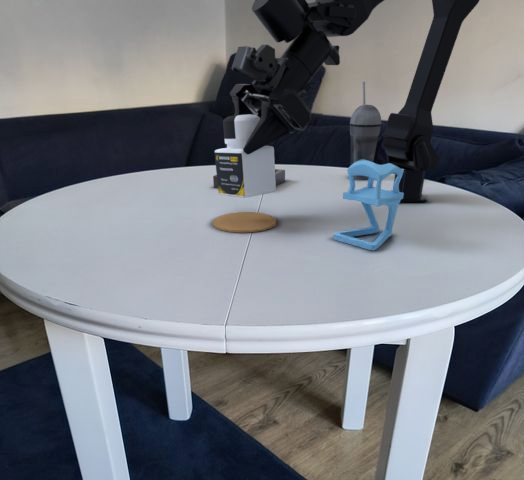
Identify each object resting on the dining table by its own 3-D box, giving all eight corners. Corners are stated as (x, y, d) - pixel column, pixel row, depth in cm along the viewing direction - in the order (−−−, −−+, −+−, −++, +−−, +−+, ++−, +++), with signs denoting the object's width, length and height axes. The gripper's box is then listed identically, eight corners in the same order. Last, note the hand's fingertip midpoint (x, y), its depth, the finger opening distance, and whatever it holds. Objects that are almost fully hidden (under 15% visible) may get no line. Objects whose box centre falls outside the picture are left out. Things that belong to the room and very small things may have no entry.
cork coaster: (276, 232, 80) (276, 230, 79) (209, 232, 80) (209, 230, 79) (275, 214, 89) (275, 211, 89) (216, 214, 89) (216, 212, 89)
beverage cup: (378, 181, 112) (389, 82, 101) (347, 181, 112) (354, 82, 101) (373, 174, 118) (383, 80, 107) (343, 174, 118) (350, 81, 108)
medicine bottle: (217, 195, 82) (210, 117, 77) (249, 188, 86) (244, 114, 81) (244, 198, 77) (238, 115, 72) (276, 191, 81) (273, 112, 76)
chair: (404, 238, 76) (416, 158, 70) (373, 251, 72) (382, 165, 65) (364, 228, 81) (372, 151, 75) (332, 239, 76) (338, 158, 70)
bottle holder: (285, 180, 113) (285, 169, 111) (263, 192, 103) (263, 180, 102) (238, 176, 117) (237, 165, 116) (213, 187, 107) (213, 175, 106)
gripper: (238, 26, 78) (179, 107, 80) (294, 19, 64) (221, 117, 65) (281, 80, 85) (226, 153, 87) (340, 84, 71) (274, 172, 72)
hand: (235, 149), depth 78 cm, fingers closed on medicine bottle, 7 cm apart
